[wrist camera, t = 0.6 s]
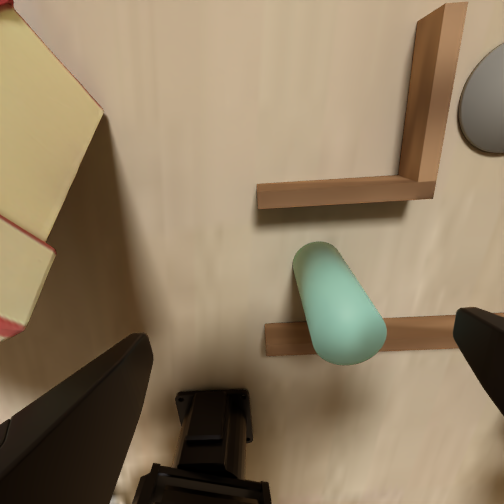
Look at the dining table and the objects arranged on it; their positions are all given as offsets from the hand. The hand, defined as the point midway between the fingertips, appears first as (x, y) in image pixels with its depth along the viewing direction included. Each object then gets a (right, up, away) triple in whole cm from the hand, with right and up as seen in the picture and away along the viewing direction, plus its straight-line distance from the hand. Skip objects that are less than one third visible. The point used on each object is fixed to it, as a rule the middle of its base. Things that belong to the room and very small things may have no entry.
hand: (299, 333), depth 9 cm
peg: (+3, +1, +13) cm, 13 cm away
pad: (+14, +11, +8) cm, 20 cm away
